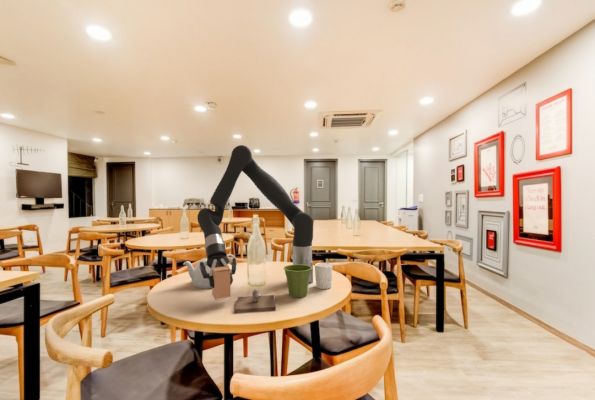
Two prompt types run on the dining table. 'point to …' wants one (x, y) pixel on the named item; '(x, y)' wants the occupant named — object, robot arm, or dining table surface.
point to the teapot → (197, 275)
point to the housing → (221, 282)
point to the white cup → (323, 275)
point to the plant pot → (297, 279)
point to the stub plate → (255, 303)
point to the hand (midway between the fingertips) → (222, 285)
